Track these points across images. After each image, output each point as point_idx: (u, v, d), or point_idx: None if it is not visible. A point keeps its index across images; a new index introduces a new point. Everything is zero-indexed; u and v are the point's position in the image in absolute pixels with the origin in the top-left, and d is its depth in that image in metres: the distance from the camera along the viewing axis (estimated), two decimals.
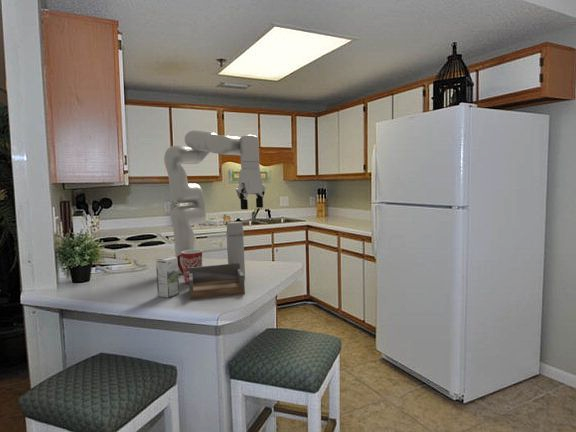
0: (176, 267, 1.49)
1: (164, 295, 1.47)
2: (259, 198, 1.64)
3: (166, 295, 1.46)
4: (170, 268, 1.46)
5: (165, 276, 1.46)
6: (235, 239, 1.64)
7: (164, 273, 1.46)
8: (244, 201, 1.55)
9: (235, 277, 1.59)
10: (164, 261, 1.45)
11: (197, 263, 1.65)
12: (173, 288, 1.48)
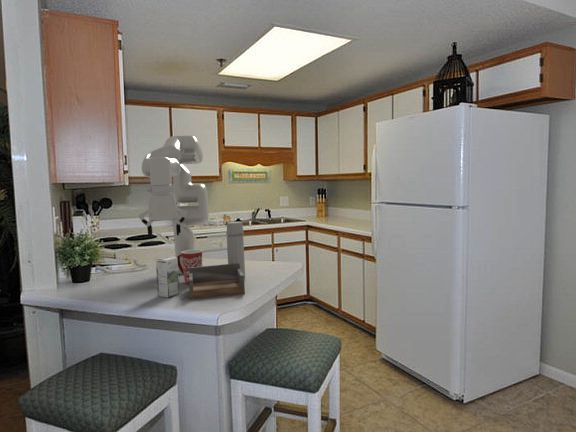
0: (176, 267, 1.49)
1: (164, 295, 1.47)
2: (151, 226, 1.47)
3: (166, 295, 1.46)
4: (170, 268, 1.46)
5: (165, 276, 1.46)
6: (235, 239, 1.64)
7: (164, 273, 1.46)
8: None
9: (235, 277, 1.59)
10: (164, 261, 1.45)
11: (197, 263, 1.65)
12: (173, 288, 1.48)
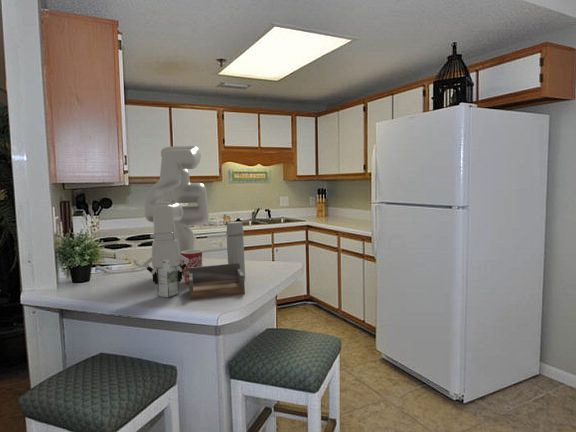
0: None
1: (164, 295, 1.47)
2: (156, 273, 1.49)
3: (166, 295, 1.46)
4: (170, 268, 1.46)
5: (164, 276, 1.46)
6: (235, 239, 1.64)
7: (164, 273, 1.46)
8: None
9: (235, 277, 1.59)
10: (164, 261, 1.45)
11: (197, 263, 1.65)
12: (173, 288, 1.48)
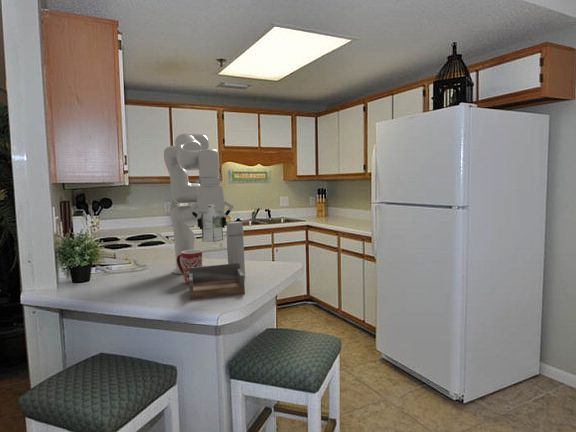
0: (220, 212, 1.49)
1: (209, 240, 1.47)
2: (200, 218, 1.49)
3: (211, 239, 1.47)
4: (215, 213, 1.47)
5: (210, 220, 1.46)
6: (235, 239, 1.64)
7: (209, 217, 1.46)
8: None
9: (235, 277, 1.59)
10: (209, 205, 1.46)
11: (197, 263, 1.65)
12: (218, 233, 1.49)
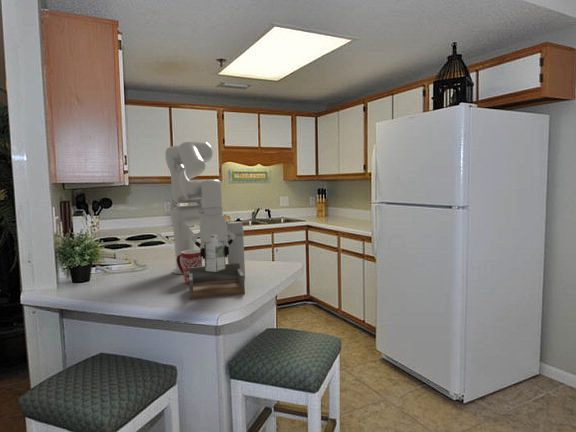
0: (223, 242, 1.50)
1: (212, 269, 1.48)
2: (203, 248, 1.50)
3: (214, 269, 1.48)
4: (217, 243, 1.48)
5: (213, 250, 1.47)
6: (235, 239, 1.64)
7: (212, 247, 1.47)
8: None
9: (235, 277, 1.59)
10: (212, 235, 1.47)
11: (197, 263, 1.65)
12: (221, 263, 1.50)
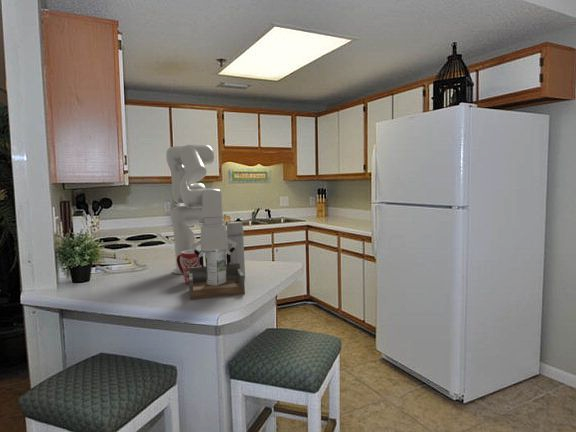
0: (224, 256, 1.51)
1: (213, 284, 1.49)
2: (202, 256, 1.50)
3: (215, 283, 1.49)
4: (219, 257, 1.49)
5: (214, 264, 1.48)
6: (235, 239, 1.64)
7: (213, 262, 1.48)
8: None
9: (235, 277, 1.59)
10: (214, 250, 1.47)
11: (197, 263, 1.65)
12: (222, 277, 1.50)
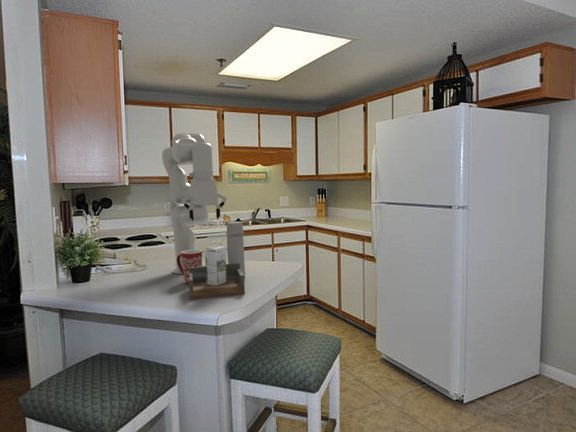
0: (224, 256, 1.51)
1: (213, 284, 1.49)
2: None
3: (215, 283, 1.49)
4: (219, 257, 1.49)
5: (214, 264, 1.48)
6: (235, 239, 1.64)
7: (213, 262, 1.48)
8: None
9: (235, 277, 1.59)
10: (214, 250, 1.47)
11: (197, 263, 1.65)
12: (222, 277, 1.50)
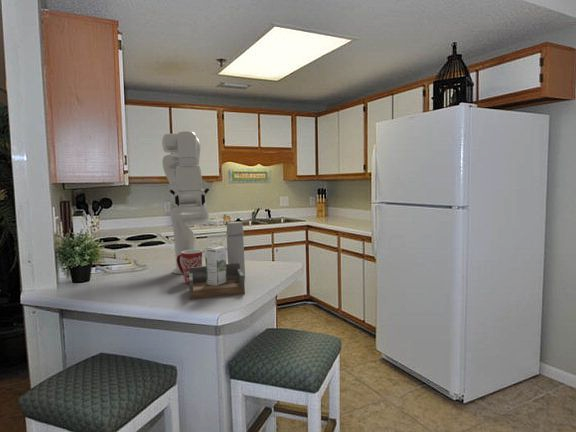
0: (224, 256, 1.51)
1: (213, 284, 1.49)
2: (178, 196, 1.58)
3: (215, 283, 1.49)
4: (219, 257, 1.49)
5: (214, 264, 1.48)
6: (235, 239, 1.64)
7: (213, 262, 1.48)
8: None
9: (235, 277, 1.59)
10: (214, 250, 1.47)
11: (197, 263, 1.65)
12: (222, 277, 1.50)
